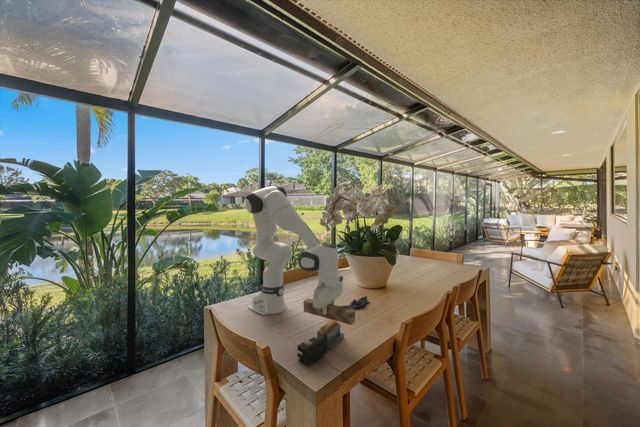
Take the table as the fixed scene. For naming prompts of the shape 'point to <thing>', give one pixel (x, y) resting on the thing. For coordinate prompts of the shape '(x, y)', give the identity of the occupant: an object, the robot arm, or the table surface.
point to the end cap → (311, 350)
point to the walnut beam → (331, 312)
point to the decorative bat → (357, 303)
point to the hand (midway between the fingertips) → (328, 311)
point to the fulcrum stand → (330, 333)
